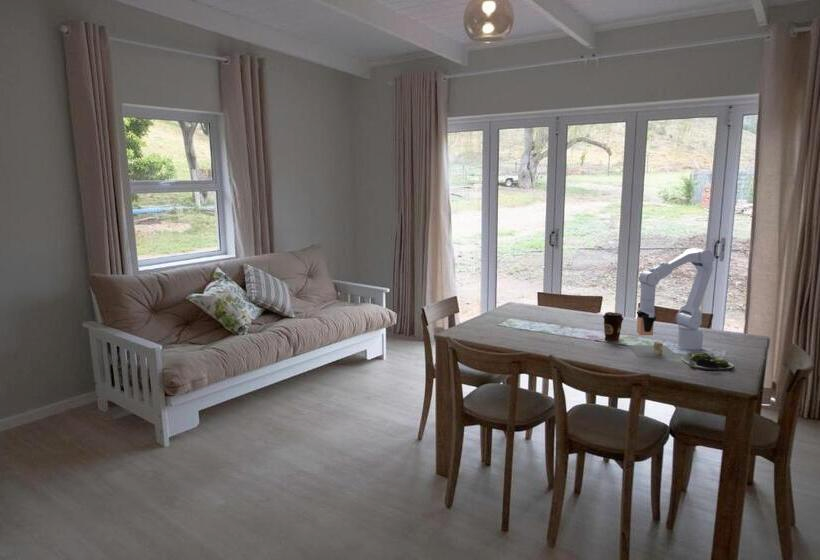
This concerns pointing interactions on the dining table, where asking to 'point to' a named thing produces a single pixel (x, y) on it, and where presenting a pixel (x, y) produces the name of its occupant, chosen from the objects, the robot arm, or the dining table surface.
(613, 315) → the coffee cup
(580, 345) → the dining table surface
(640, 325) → the peach foam cube
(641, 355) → the mat
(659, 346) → the post
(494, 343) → the dining table surface
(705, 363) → the salad plate
